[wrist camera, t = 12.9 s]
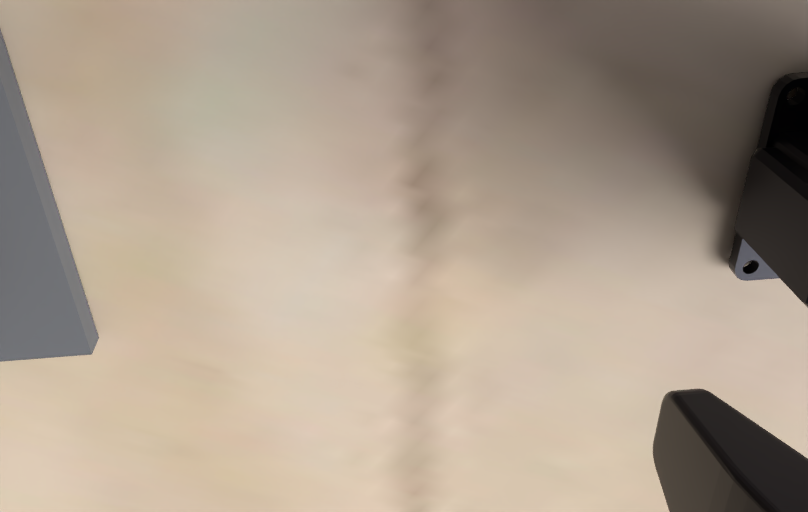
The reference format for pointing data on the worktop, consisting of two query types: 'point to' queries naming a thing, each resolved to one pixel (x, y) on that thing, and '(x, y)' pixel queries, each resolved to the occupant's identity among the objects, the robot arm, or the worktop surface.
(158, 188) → the worktop surface
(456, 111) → the worktop surface
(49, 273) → the mat
